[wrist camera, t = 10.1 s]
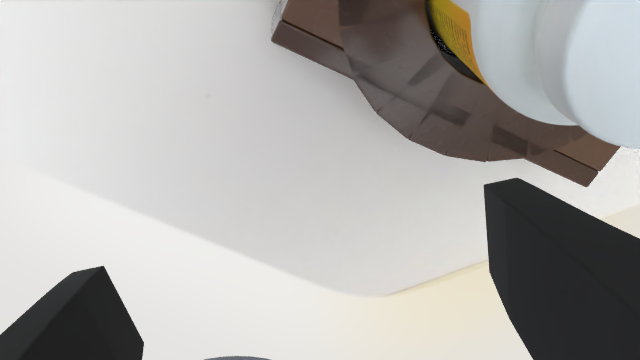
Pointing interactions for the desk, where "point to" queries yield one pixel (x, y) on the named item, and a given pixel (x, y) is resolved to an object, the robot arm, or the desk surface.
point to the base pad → (429, 86)
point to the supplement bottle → (553, 58)
